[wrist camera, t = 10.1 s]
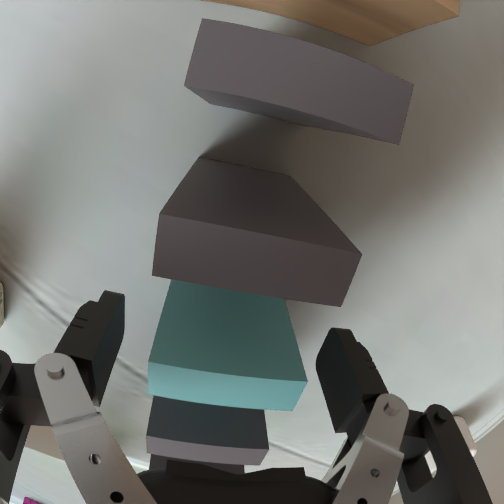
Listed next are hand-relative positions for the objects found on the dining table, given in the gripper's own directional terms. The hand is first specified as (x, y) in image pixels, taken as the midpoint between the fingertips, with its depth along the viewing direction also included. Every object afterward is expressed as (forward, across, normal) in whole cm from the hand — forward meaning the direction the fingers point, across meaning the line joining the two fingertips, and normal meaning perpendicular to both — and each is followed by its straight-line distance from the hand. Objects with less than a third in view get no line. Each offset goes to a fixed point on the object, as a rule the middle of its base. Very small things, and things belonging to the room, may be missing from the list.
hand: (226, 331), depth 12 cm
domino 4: (+7, 0, +5) cm, 9 cm away
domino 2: (+7, 0, -4) cm, 8 cm away
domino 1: (+8, 0, -9) cm, 11 cm away
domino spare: (+7, 0, 0) cm, 7 cm away
